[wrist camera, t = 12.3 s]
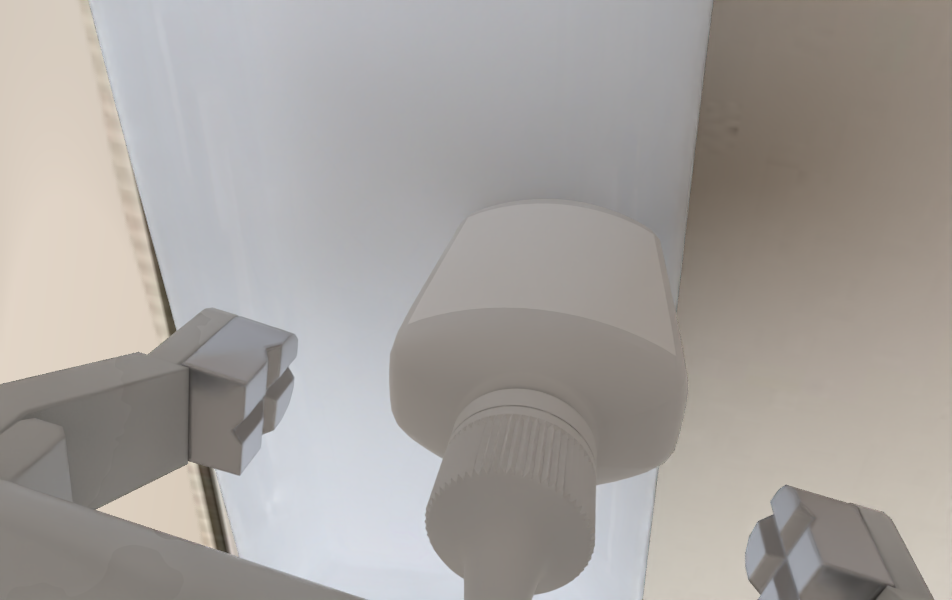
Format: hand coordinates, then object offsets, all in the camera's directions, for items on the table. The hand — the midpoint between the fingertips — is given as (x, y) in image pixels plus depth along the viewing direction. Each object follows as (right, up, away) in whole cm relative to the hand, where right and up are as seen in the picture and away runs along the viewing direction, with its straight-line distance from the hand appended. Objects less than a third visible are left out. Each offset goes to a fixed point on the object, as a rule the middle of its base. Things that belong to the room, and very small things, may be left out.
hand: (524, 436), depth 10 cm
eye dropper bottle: (+2, +4, +8) cm, 9 cm away
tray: (-2, +2, +14) cm, 14 cm away
